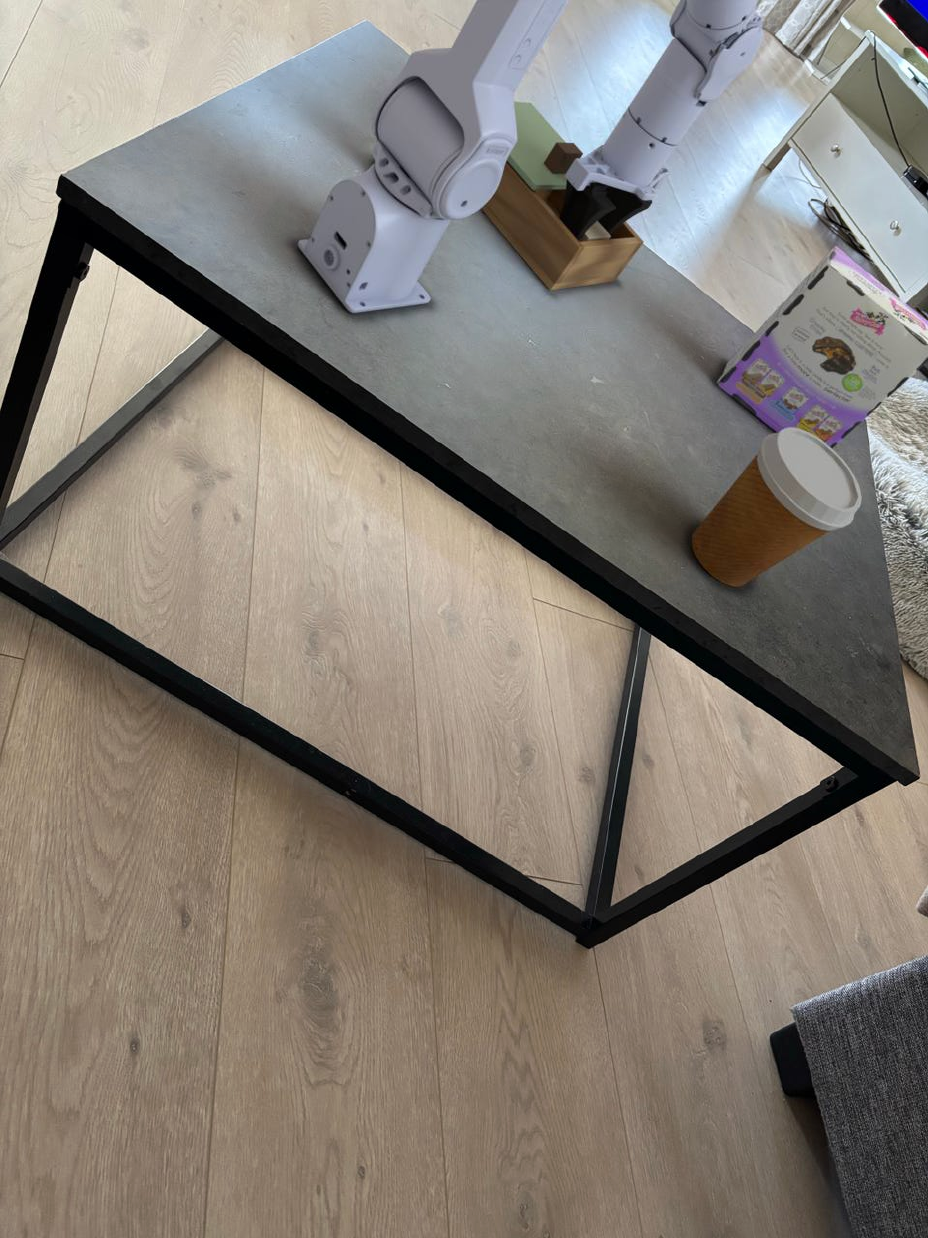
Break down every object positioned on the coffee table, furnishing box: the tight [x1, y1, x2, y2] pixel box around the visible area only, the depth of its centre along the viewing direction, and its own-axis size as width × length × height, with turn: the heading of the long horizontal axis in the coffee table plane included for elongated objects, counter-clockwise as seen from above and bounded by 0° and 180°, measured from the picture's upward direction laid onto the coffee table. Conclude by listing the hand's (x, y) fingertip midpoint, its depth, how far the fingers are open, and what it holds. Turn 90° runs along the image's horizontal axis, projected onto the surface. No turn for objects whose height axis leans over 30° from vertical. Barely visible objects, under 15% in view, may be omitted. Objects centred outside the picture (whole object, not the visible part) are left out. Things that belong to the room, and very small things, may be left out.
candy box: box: [716, 245, 928, 450], centre depth 99 cm, size 14×6×16 cm, turn 65°
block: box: [579, 221, 611, 242], centre depth 99 cm, size 4×4×4 cm
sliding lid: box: [507, 101, 584, 190], centre depth 98 cm, size 12×13×3 cm
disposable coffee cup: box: [691, 427, 863, 587], centre depth 80 cm, size 10×10×12 cm
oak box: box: [480, 160, 645, 291], centre depth 99 cm, size 12×13×5 cm
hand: (572, 243), depth 99 cm, fingers closed on block, 4 cm apart
